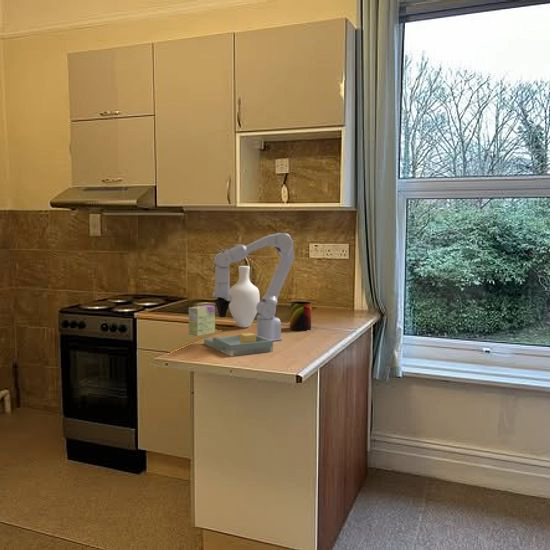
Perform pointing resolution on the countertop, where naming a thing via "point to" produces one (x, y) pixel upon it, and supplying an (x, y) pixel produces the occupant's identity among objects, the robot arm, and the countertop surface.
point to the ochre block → (247, 338)
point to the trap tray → (239, 345)
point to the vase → (244, 299)
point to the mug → (300, 316)
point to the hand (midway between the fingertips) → (222, 317)
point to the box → (201, 320)
